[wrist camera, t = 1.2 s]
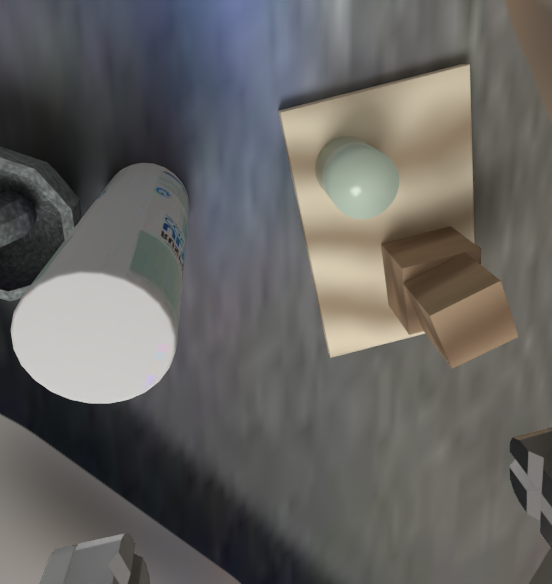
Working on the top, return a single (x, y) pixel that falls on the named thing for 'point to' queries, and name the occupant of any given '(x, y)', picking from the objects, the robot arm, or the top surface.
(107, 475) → the top surface
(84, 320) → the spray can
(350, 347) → the board
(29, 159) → the mortar and pestle
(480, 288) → the top block
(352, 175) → the canister
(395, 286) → the base block
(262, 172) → the top surface
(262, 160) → the top surface
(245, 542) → the top surface
